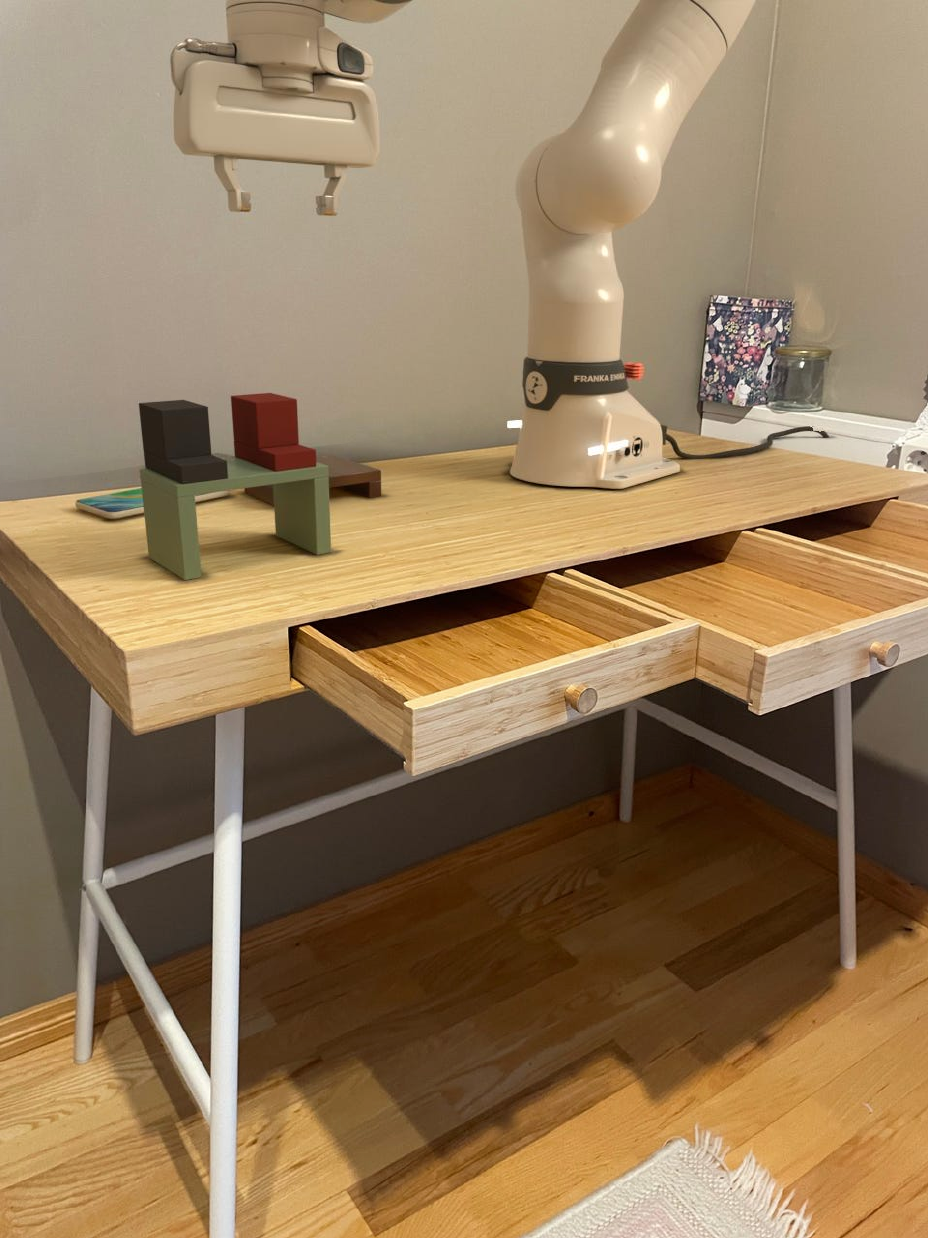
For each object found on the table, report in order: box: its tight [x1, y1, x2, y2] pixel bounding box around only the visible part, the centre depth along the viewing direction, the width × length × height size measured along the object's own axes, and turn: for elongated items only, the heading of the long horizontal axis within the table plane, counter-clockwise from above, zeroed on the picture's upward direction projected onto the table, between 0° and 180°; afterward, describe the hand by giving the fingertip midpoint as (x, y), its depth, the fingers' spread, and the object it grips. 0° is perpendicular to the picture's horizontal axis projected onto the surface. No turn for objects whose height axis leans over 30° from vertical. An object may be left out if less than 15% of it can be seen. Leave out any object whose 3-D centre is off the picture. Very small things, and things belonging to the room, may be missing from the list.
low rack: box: [243, 455, 382, 506], centre depth 109 cm, size 12×10×3 cm
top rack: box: [139, 456, 332, 581], centre depth 86 cm, size 14×8×8 cm, turn 128°
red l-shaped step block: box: [230, 392, 317, 472], centre depth 86 cm, size 4×8×6 cm, turn 38°
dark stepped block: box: [138, 399, 228, 484], centre depth 81 cm, size 4×8×6 cm, turn 38°
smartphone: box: [74, 487, 230, 520], centre depth 104 cm, size 7×1×15 cm
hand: (284, 213), depth 94 cm, fingers open, 8 cm apart
